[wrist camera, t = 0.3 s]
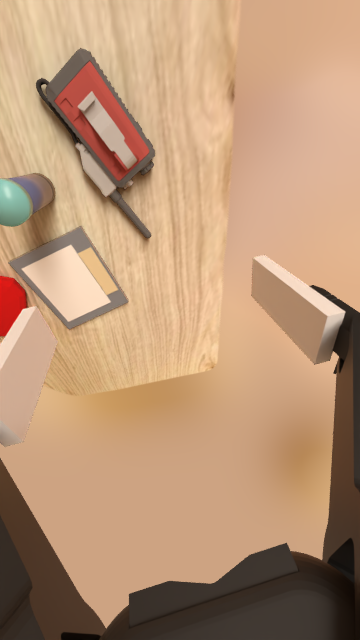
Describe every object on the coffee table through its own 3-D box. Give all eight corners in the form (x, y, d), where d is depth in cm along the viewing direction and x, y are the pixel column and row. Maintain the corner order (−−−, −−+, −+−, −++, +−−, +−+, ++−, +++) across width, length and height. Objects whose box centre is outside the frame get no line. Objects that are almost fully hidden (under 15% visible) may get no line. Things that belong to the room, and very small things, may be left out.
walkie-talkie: (26, 101, 27) (143, 239, 38) (11, 93, 24) (146, 248, 35) (80, 37, 25) (187, 201, 36) (73, 18, 22) (194, 206, 33)
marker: (16, 180, 30) (-34, 191, 21) (42, 166, 30) (5, 171, 21) (37, 210, 33) (2, 233, 23) (62, 197, 33) (37, 215, 23)
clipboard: (10, 260, 36) (7, 263, 35) (81, 225, 35) (80, 227, 34) (69, 326, 44) (68, 330, 43) (128, 299, 43) (128, 302, 42)
